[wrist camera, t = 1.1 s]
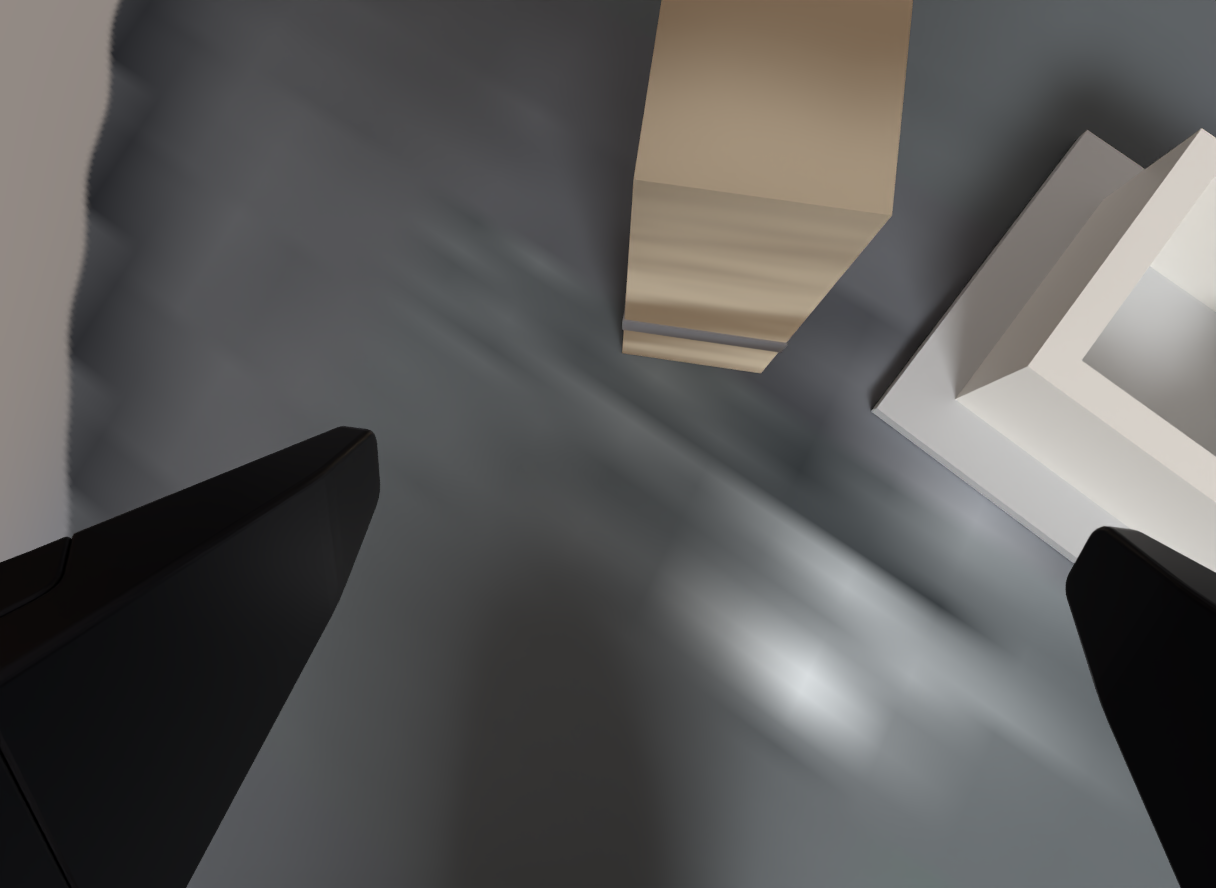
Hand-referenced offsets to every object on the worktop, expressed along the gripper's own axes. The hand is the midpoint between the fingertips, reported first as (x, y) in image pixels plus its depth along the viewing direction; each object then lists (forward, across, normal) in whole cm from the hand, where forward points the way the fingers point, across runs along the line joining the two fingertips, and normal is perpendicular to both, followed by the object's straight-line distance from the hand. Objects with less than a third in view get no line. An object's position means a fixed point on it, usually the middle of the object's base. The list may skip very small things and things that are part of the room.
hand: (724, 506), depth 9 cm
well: (+15, -14, +3) cm, 21 cm away
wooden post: (+16, 0, +3) cm, 16 cm away
